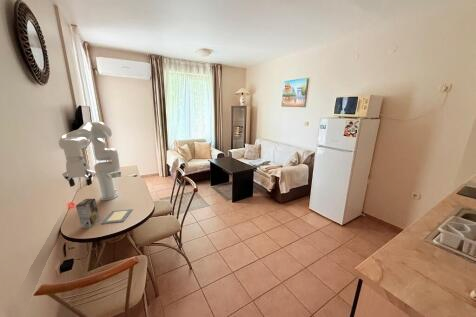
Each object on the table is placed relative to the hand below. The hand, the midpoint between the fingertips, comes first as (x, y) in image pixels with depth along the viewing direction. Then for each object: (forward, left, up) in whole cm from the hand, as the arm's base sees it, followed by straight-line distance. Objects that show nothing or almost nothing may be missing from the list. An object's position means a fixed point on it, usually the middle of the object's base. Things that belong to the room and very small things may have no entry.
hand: (81, 185), depth 120 cm
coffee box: (0, 0, -28) cm, 28 cm away
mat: (-6, +14, -28) cm, 32 cm away
